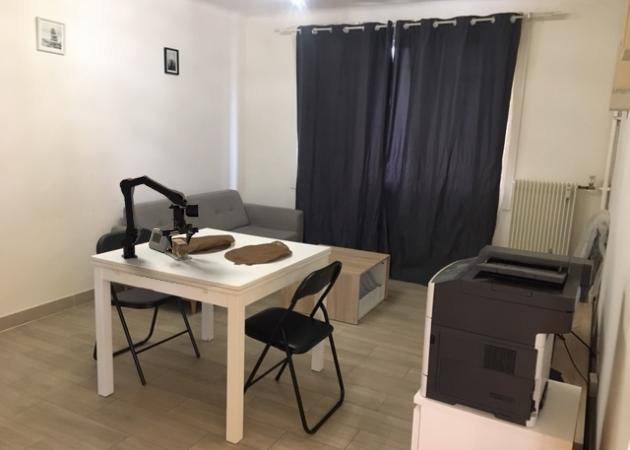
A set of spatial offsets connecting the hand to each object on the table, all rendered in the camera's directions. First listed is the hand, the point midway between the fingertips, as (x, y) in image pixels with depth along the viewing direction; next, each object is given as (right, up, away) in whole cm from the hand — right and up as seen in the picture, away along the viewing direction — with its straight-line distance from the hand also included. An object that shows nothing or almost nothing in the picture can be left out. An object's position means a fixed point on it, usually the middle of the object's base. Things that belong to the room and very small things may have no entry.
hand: (179, 247), depth 258 cm
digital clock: (-15, -2, +14) cm, 20 cm away
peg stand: (0, -5, +1) cm, 5 cm away
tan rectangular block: (0, -2, 0) cm, 2 cm away
